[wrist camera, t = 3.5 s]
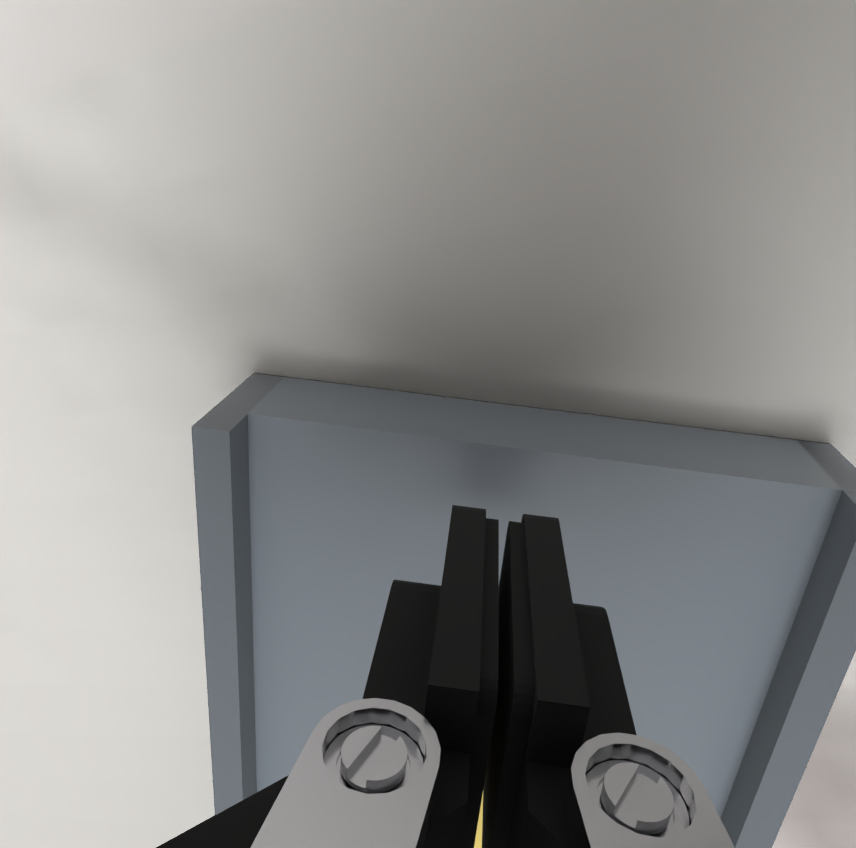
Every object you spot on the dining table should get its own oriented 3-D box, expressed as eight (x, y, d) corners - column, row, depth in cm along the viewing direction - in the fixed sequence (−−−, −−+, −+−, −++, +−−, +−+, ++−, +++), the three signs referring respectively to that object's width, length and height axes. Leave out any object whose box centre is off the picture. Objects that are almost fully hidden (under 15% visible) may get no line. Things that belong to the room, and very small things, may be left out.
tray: (253, 373, 17) (191, 426, 14) (830, 444, 16) (910, 520, 13) (265, 981, 27) (232, 1094, 24) (616, 1052, 26) (630, 1179, 23)
